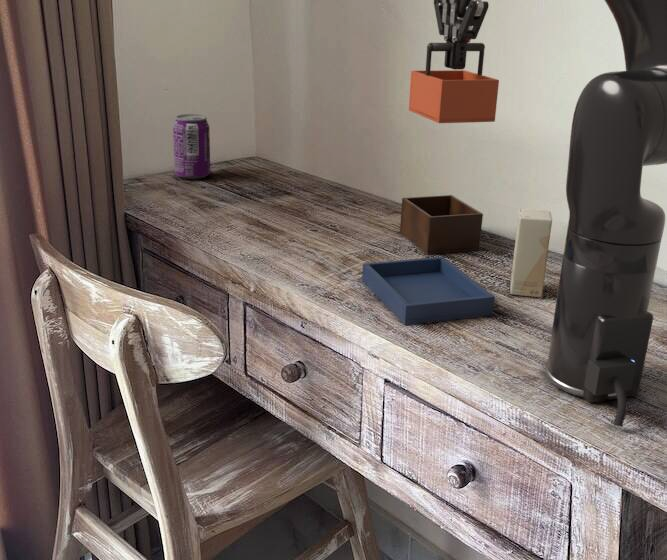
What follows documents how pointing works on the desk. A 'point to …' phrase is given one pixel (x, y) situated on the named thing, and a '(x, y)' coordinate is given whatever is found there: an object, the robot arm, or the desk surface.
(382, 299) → the tray
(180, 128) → the beverage can
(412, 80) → the top basket
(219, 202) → the desk surface
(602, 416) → the desk surface
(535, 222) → the box
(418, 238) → the box
